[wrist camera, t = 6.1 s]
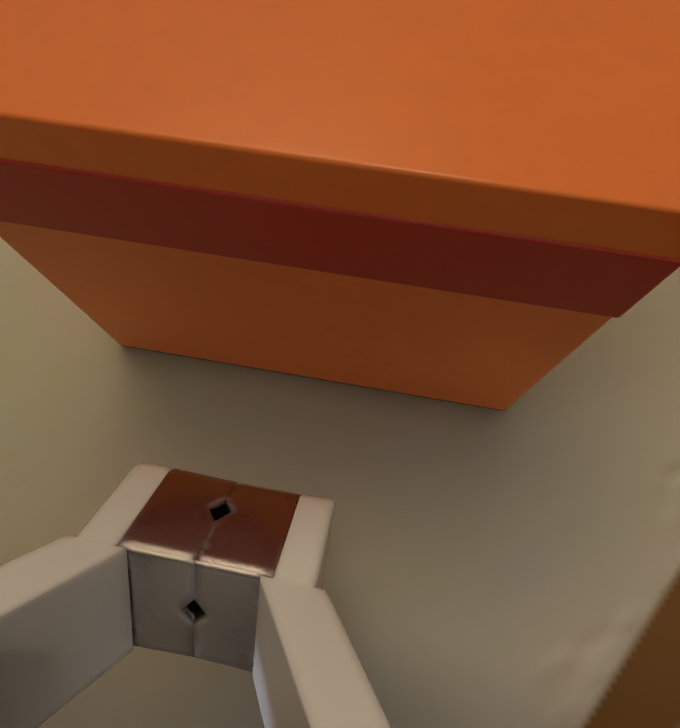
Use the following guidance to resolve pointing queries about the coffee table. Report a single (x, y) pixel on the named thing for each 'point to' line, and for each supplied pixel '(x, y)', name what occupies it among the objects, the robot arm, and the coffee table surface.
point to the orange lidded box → (347, 178)
